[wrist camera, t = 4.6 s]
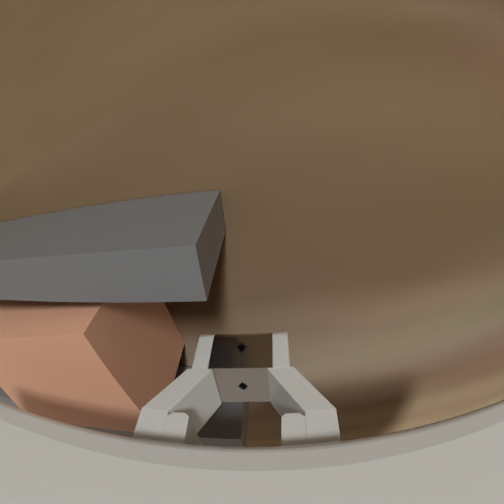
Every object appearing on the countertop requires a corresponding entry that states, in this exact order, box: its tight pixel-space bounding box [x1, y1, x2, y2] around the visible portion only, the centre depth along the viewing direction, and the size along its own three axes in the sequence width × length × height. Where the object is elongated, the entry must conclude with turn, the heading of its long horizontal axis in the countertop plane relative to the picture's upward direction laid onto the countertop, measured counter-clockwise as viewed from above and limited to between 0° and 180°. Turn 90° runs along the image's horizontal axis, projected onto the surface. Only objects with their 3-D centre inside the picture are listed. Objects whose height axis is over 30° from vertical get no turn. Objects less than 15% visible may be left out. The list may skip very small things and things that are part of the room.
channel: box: [0, 190, 248, 447], centre depth 12 cm, size 16×10×4 cm, turn 95°
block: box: [0, 300, 185, 432], centre depth 11 cm, size 8×5×5 cm, turn 104°
